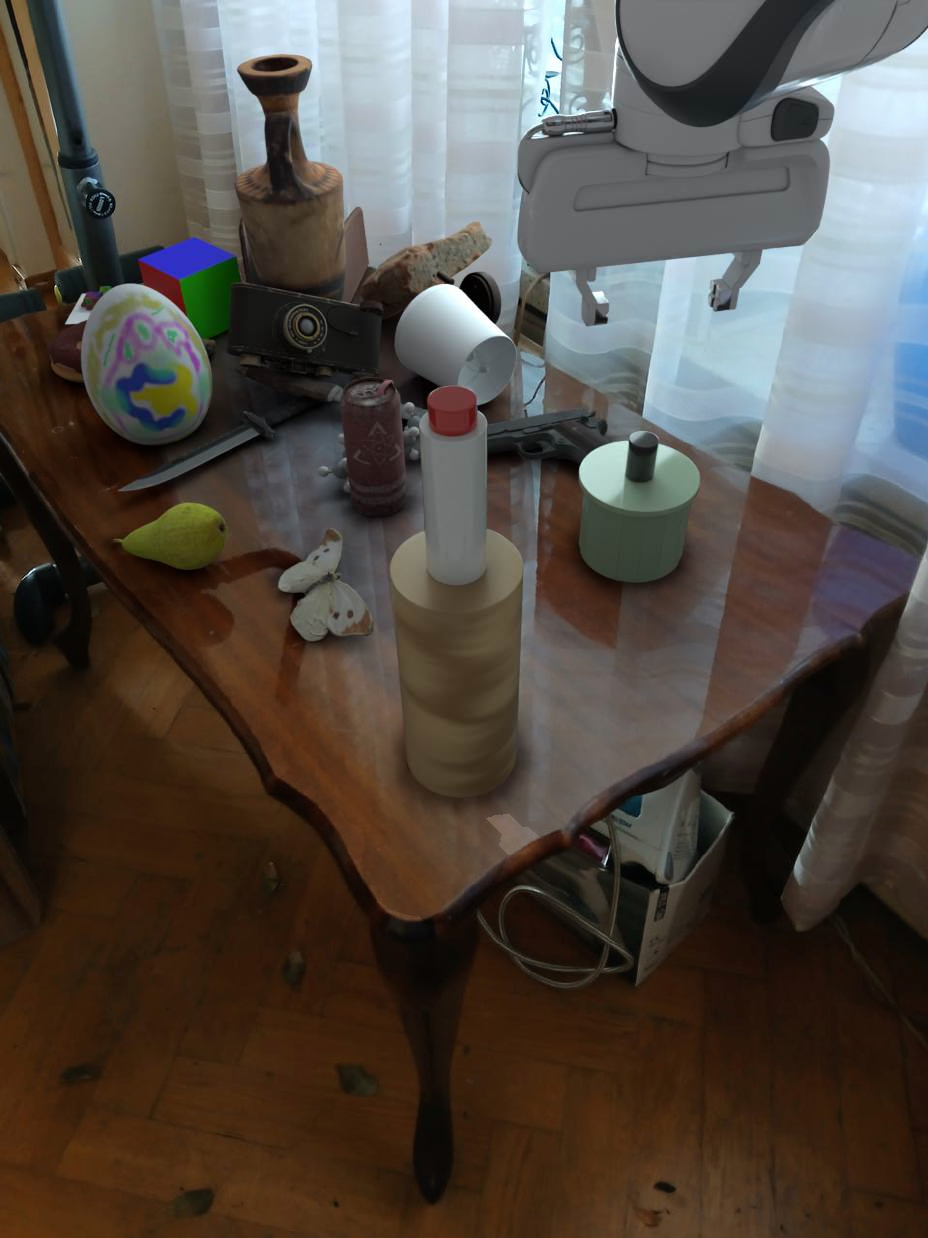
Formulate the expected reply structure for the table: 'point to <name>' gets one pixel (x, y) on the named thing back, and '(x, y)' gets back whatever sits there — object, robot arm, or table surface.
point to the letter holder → (353, 247)
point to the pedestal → (459, 668)
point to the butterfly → (316, 606)
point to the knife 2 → (303, 386)
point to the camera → (303, 332)
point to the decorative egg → (145, 366)
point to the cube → (194, 282)
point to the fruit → (180, 537)
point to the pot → (631, 543)
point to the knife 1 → (223, 443)
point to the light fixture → (458, 336)
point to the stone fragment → (423, 268)
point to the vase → (291, 191)
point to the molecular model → (408, 441)
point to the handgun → (550, 435)
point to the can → (374, 445)
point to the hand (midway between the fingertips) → (658, 314)
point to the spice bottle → (454, 485)
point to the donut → (68, 353)
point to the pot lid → (639, 477)
